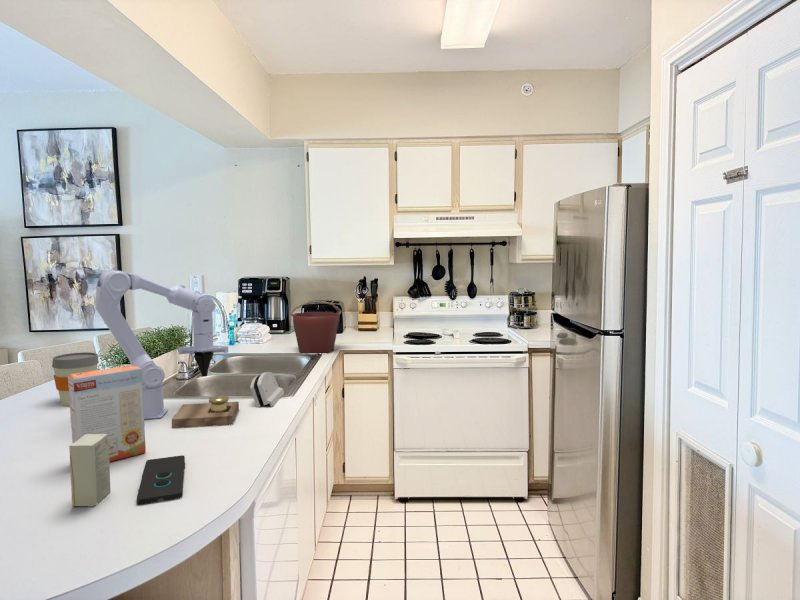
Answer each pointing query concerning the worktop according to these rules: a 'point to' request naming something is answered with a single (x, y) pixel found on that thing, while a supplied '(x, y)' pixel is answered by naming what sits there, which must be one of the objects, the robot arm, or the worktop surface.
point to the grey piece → (266, 389)
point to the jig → (204, 415)
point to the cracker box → (109, 408)
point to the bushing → (218, 403)
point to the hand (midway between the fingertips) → (204, 375)
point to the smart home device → (162, 480)
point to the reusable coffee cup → (71, 370)
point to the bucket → (316, 329)
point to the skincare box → (89, 469)
